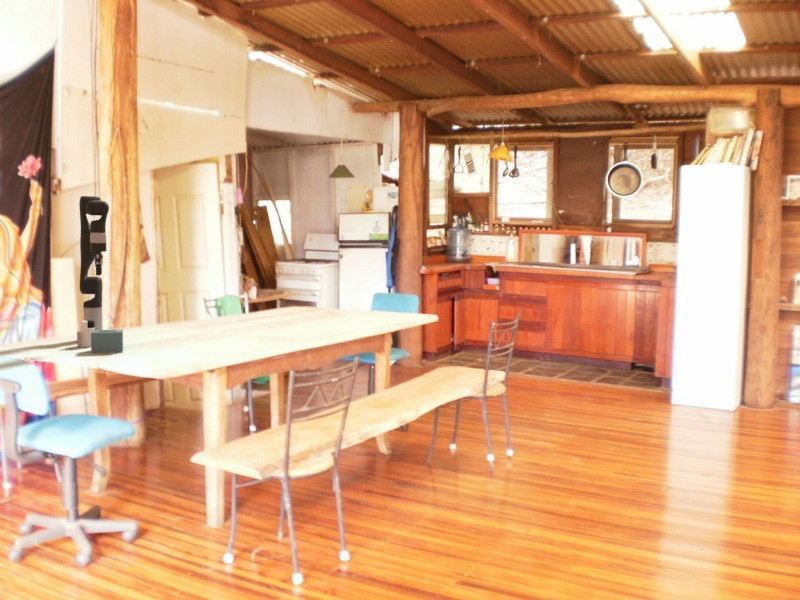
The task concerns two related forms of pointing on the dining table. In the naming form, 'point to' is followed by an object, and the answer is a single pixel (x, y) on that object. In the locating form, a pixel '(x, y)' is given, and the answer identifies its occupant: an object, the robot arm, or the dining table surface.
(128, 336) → the dining table surface
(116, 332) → the coin box
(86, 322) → the container
